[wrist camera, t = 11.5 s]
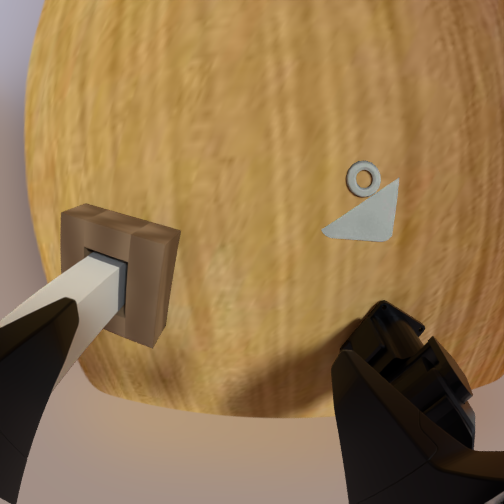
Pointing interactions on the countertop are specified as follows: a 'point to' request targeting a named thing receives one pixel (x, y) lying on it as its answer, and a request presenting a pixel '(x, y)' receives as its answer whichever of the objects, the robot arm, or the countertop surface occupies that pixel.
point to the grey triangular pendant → (367, 209)
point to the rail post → (82, 299)
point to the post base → (139, 264)
